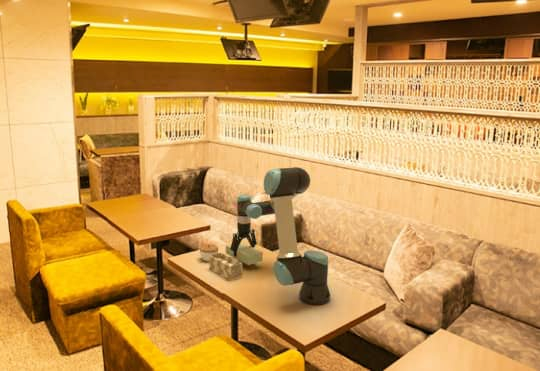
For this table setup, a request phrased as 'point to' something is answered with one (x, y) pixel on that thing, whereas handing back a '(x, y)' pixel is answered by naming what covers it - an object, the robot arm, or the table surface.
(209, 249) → the lidded jar
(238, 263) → the napkin box
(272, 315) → the table surface
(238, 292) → the table surface
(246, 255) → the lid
